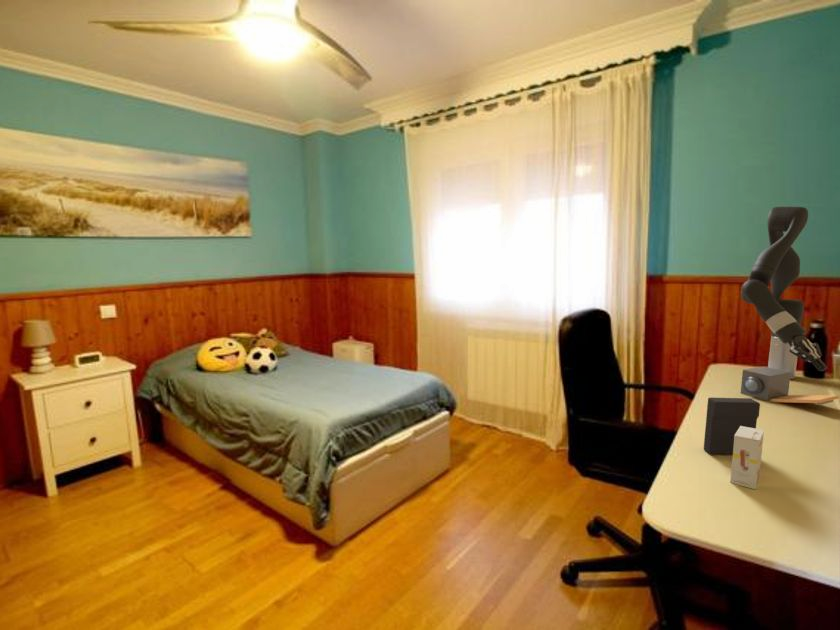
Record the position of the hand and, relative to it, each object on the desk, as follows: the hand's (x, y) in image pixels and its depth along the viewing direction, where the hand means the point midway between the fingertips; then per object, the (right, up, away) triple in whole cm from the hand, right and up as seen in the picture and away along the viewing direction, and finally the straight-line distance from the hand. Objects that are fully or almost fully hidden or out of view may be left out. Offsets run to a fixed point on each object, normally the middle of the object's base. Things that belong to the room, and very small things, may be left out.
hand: (823, 369), depth 143 cm
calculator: (-51, -19, -26) cm, 60 cm away
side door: (-4, -12, +12) cm, 18 cm away
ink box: (-56, -21, -40) cm, 72 cm away
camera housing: (-7, -12, +17) cm, 22 cm away
